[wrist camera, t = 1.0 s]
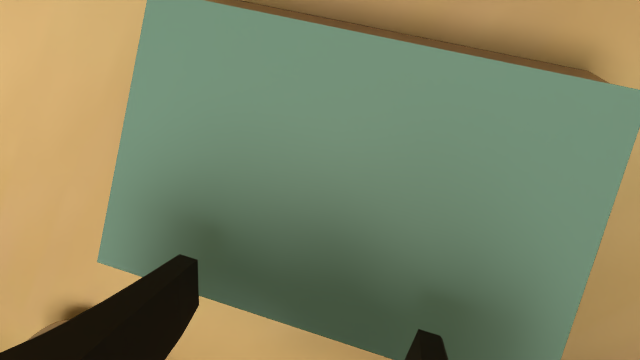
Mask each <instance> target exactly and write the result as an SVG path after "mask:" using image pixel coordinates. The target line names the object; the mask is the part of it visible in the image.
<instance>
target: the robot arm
mask: <svg viewBox="0 0 640 360" xmlns="http://www.w3.org/2000/svg"><path fill="white" fill-rule="evenodd" d="M198 306H199V289H198V260H197V259H194V258H191V257H188V256H184V255H181V254H179V255H177V256H176V257H174V258H172V259H171V260H169V261H168V262H166V263H164V264H163V265H161V266H160V267H158V268H157V269H155V270H153V271H152V272H150V273H149V274H147V275H146V276H144V277H142V278H141V279H139V280H138V281H136V282H134V283H133V284H131V285H129V286H128V287H126V288H124V289H123V290H121V291H119V292H118V293H116V294H115V295H113V296H111V297H110V298H108V299H106V300H104V301H103V302H101V303H99V304H97V305H96V306H94V307H92V308H90V309H88V310H87V311H85V312H83V313H81V314H79V315H78V316H76V317H74V318H72V319H70V320H68V321H66V322H64V323H63V324H61V325H59V326H57V327H55V328H53V329H51V330H49V331H47V332H45V333H43V334H40V335H38V336H36V337H34V338H32V339H30V340H28V341H26V342H24V343H21V344H19V345H17V346H15V347H12V348H10V349H8V350H6V351H3V352H1V353H0V360H165V359H166V357H167V356H168V354H169V353H170V352H171V350H172V349H173V347H174V346H175V345H176V343H177V342H178V340H179V339H180V337H181V336H182V334H183V333H184V331H185V329H186V327H187V326H188V324H189V322H190V320H191V319H192V317H193V315H194V313H195V311H196V309H197V308H198ZM405 360H448V356H447V353H446V349H445V346H444V342H443V339H442V338H441V336H440V335H437V334H433V333H430V332H427V331H424V330H421V329H418V331H417V333H416V335H415V338H414V340H413V342H412V344H411V347H410V349H409V351H408V353H407V355H406V358H405Z"/></svg>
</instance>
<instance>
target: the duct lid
mask: <svg viewBox="0 0 640 360" xmlns="http://www.w3.org/2000/svg"><path fill="white" fill-rule="evenodd" d="M639 127H640V90H638V89H633V88H628V87H623V86H618V85H613V84H609V83H604V82H599V81H594V80H589V79H584V78H579V77H575V76H570V75H565V74H560V73H555V72H550V71H545V70H541V69H536V68H531V67H526V66H521V65H516V64H511V63H506V62H502V61H497V60H492V59H487V58H482V57H477V56H472V55H468V54H463V53H458V52H453V51H448V50H443V49H438V48H434V47H429V46H424V45H419V44H414V43H409V42H404V41H399V40H395V39H390V38H385V37H380V36H375V35H370V34H365V33H361V32H356V31H351V30H346V29H341V28H336V27H331V26H326V25H322V24H317V23H312V22H307V21H302V20H297V19H292V18H288V17H283V16H278V15H273V14H268V13H263V12H258V11H254V10H249V9H244V8H239V7H234V6H229V5H224V4H219V3H215V2H210V1H205V0H147V3H146V9H145V14H144V19H143V24H142V30H141V35H140V40H139V45H138V51H137V56H136V61H135V66H134V72H133V77H132V82H131V87H130V92H129V98H128V103H127V108H126V113H125V119H124V124H123V129H122V134H121V140H120V145H119V150H118V155H117V161H116V166H115V171H114V176H113V182H112V187H111V192H110V197H109V203H108V208H107V213H106V218H105V224H104V229H103V234H102V239H101V244H100V250H99V255H98V260H97V262H98V263H101V264H105V265H108V266H111V267H114V268H117V269H120V270H123V271H126V272H129V273H132V274H135V275H138V276H141V277H144V276H146V275H147V274H149V273H150V272H152V271H153V270H155V269H157V268H158V267H160V266H161V265H163V264H164V263H166V262H168V261H169V260H171V259H172V258H174V257H176V256H177V255H179V254H181V255H184V256H188V257H191V258H194V259H197V260H198V289H199V296H202V297H205V298H208V299H211V300H214V301H217V302H220V303H223V304H226V305H229V306H232V307H235V308H238V309H241V310H244V311H248V312H251V313H254V314H257V315H260V316H263V317H266V318H269V319H272V320H275V321H278V322H281V323H284V324H287V325H290V326H293V327H296V328H299V329H302V330H305V331H308V332H311V333H314V334H318V335H321V336H324V337H327V338H330V339H333V340H336V341H339V342H342V343H345V344H348V345H351V346H354V347H357V348H360V349H363V350H366V351H369V352H372V353H375V354H378V355H381V356H384V357H387V358H391V359H394V360H405V358H406V355H407V353H408V351H409V349H410V347H411V344H412V342H413V340H414V338H415V335H416V333H417V331H418V329H421V330H424V331H427V332H430V333H433V334H437V335H440V336H441V338H442V339H443V342H444V346H445V349H446V353H447V356H448V360H561V357H562V354H563V351H564V348H565V345H566V342H567V339H568V336H569V333H570V330H571V327H572V324H573V321H574V318H575V316H576V313H577V310H578V307H579V304H580V301H581V298H582V295H583V292H584V289H585V286H586V283H587V280H588V277H589V274H590V271H591V268H592V266H593V263H594V260H595V257H596V254H597V251H598V248H599V245H600V242H601V239H602V236H603V233H604V230H605V227H606V224H607V221H608V218H609V216H610V213H611V210H612V207H613V204H614V201H615V198H616V195H617V192H618V189H619V186H620V183H621V180H622V177H623V174H624V171H625V169H626V166H627V163H628V160H629V157H630V154H631V151H632V148H633V145H634V142H635V139H636V136H637V133H638V130H639Z"/></svg>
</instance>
